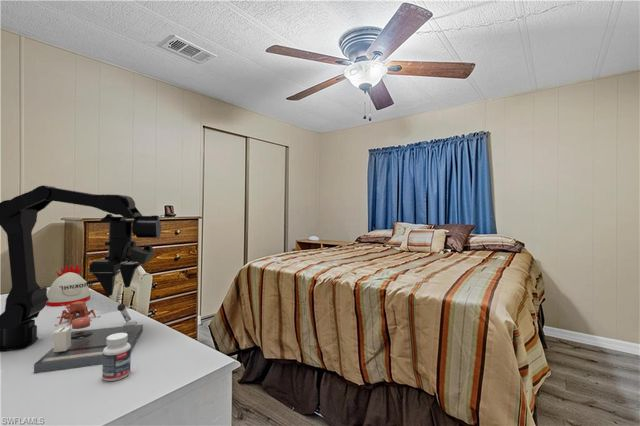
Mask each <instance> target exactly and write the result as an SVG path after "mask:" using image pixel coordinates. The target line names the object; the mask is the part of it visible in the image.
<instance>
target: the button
mask: <svg viewBox="0 0 640 426" xmlns="http://www.w3.org/2000/svg"><path fill="white" fill-rule="evenodd" d="M90 320H91V317H90V316H88V317H86V316H85V317H81V316H80V317H77V318H76V317H75V319H72V322H71V330H72V329H73V330H80V329H82V330H83V329H85V328H88V327H90V326H91V321H90Z"/></svg>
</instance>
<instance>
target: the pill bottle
mask: <svg viewBox="0 0 640 426" xmlns="http://www.w3.org/2000/svg"><path fill="white" fill-rule="evenodd" d="M127 341H128V334H127V333H116V334H112V335H110V336H108V337H107V340H106V343H107V345H108V346H107V347H105V348H104V350H103V364H102V367H101V368H102V373H101V375H102V376H101V377H102V380H103V381H105V382H113V381H114V382H115V381H119V380H122V379H124V378H126V377H127V376H129V374H130V373H131V361H132V359H131V358H132V357H131V353H132V350H131V346H130V344H129V343H127Z"/></svg>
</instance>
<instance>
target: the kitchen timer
mask: <svg viewBox="0 0 640 426" xmlns="http://www.w3.org/2000/svg"><path fill="white" fill-rule="evenodd" d="M78 266H79V265H78V263H77V264H76V265H75V267H74V268H73V265H72V264H70V266H68V265H67V264H66V265H65V268H64V269H63V268H62V267H61V268H60V270H61V273H59V272H58V271H56V274H57V276H58V277H57V278H56V279H55V280H54V281H53V282H52V284H51V285H50V287H49V290H47V298H48V299H49V300H48V301H46V306H47V307H66V306H67V305H68V304H69V306H70V304H71V303H74V302H77V301H85V302H87V301H89V300H91V291H90V289H89V285H88V286H87V285H86V287H84V286H83V287H82V285H80V286H81V287H82V288H80V287H79V284H83V285H84V283H88V281H87V280H86V279H84V278H83V276H81V275H80V273H81V271H82V270H83V269H82V268H83V267H82V266H80V267H78ZM77 284H78V288H77V287H76V286H75V285H77ZM67 285H68V289H67V288H66V290H64V286H66V287H67ZM70 285H71V286H72V287H73V285H74V289H72V287H71V289H70ZM60 286H63V290H62V287H60ZM75 287H76V288H75Z"/></svg>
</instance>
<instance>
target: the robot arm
mask: <svg viewBox="0 0 640 426" xmlns="http://www.w3.org/2000/svg"><path fill="white" fill-rule="evenodd" d="M52 202H59V203H66V204H72V205H78V206H83V207H84V206H85V207H89V208H90V207H91V208H95V209H97V210H101V211H103V212H106V213H107V214H106V215H105V216H104V217H102V218H101V219H100V220H99V221H100V223H108V241H105V242H104V246H105V247H106V246H108V247H107V248H108V250H107V251H108V254H107V255H106V256H104V259H97V260H93V261H92V262H91V263H89V264H88V273H91V274H92V275H94V276H95V278H96V279H97V281H98V282H99V285H100V286H101V287H102V288H103V291H104V292H105V294H106V295H107V296H108V297H110V296H111V297H112V296H113V293H114V289H115V281H116V277H117V276H118V275H119V274H121V278H122V282H123V285H124V288H127V289H128V288H130V286H131V283H132V280H133V279H134V275H135V272H136V270H137V269H138V268H139V267H141V266H142V265H146V264H147V263H150V262H151V259H152V257H154V253H155V252H154V248H153V246H152V245H149V244H148V245H145V246H143V247H142V246H137V245H136V244H137V242H136V240H133V235H134V236H135V237H136V238H137V239H159V238H160V237H161V234H162V225H161V221H160V216H159V215H143V214H142V213H141V212H140V210H139V209H138V208H137V207H136V203H135V200H134V199H133V197H131V196H130V195H129V196H128V195H126V194H125V195H122V194H94V193H89V192H83V191H76V190H69V189H63V188H57V187H56V186H51V185H40V186H37V187H35V188H33V189H32V190H30V191H27V192H24V193H22V194H19V195H17V196H15V197H12V198H11V199H6V200H2V201H1V202H0V227H1V229H2V230H3V231H4V232H5V233H6V238H7V249H8V259H9V271H10V281H11V288H10V290H9V292H8V294H7V297H6V299H5V306H4V311H3V312H2V313H1V314H0V352H3V351H4V352H5V351H12V350H22V349H26V348H29V346H31V345H32V344H33V343H35V342H36V341H38V339H39V337H38V325H37V324H36V322H35V321H36V320H35V318H36V319H37V318H38V316H39V314H40V312H41V311H43V310H44V308H45V307H46V306H47V305H46V301H48V300H49V299H48V298H47V294H48V287H46V286H44V287H41V286H39V284H38V282H37V277H36V265H35V256H34V246H33V235H32V234H33V233H32V231H33V230H34V228H35V225H36V223H37V221H38V219H37V218H38V213H39V212H41V211H42V210H44V209H46V207H48V206H49V205H50V204H51V203H52ZM114 215H118V216H114ZM119 215H120V216H119ZM127 219H133V220H127Z"/></svg>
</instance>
